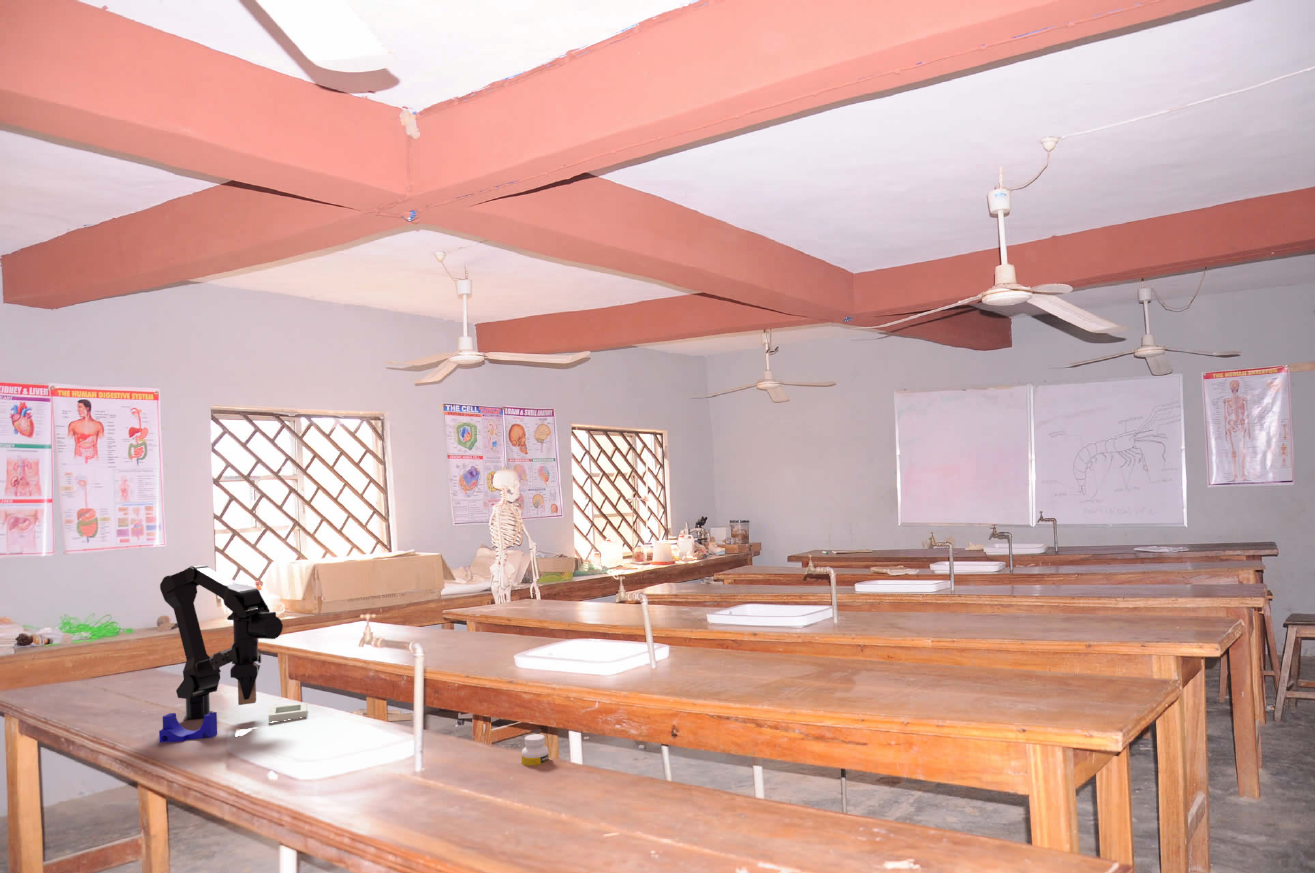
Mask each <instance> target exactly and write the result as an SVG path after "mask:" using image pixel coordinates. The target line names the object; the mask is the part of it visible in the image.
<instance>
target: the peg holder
mask: <svg viewBox="0 0 1315 873" xmlns="http://www.w3.org/2000/svg"><path fill="white" fill-rule="evenodd" d="M300 717H307V718H308V702H300V703H291V704H290V703H289V704H284V705H282V704H281V705H275V706H270V707H269V711H268V723H269V722H272V721H284V720H288V719H296V720H298V719H297V718H300ZM284 722H285V721H284Z"/></svg>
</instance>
